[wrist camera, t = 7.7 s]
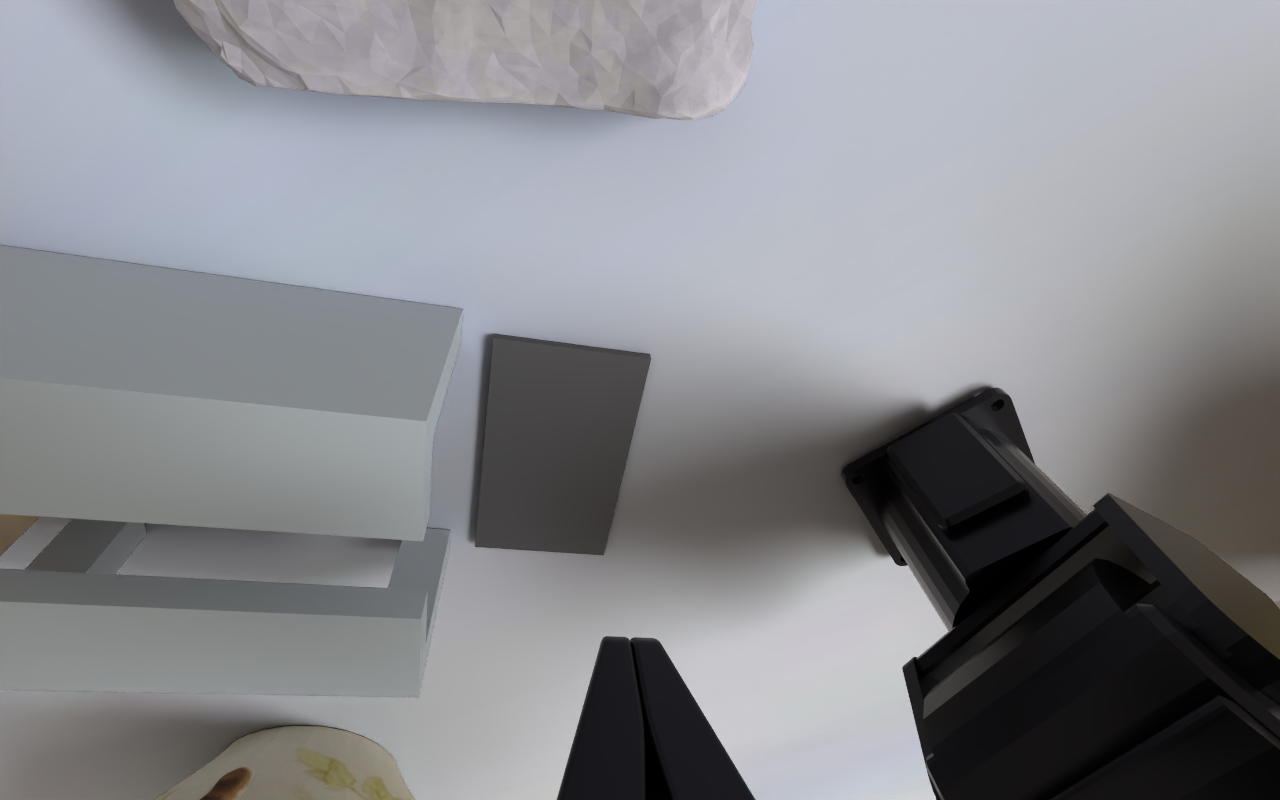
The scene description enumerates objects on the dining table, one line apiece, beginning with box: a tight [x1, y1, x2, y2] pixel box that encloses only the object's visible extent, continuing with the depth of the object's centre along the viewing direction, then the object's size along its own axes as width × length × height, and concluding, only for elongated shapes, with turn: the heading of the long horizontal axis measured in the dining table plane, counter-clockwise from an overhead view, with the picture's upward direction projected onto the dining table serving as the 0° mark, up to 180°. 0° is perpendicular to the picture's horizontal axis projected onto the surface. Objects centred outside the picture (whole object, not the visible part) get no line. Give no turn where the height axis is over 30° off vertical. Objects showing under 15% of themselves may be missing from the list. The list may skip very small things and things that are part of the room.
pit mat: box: [475, 334, 651, 555], centre depth 22 cm, size 5×9×1 cm, turn 168°
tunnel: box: [0, 245, 463, 697], centre depth 18 cm, size 12×10×6 cm
